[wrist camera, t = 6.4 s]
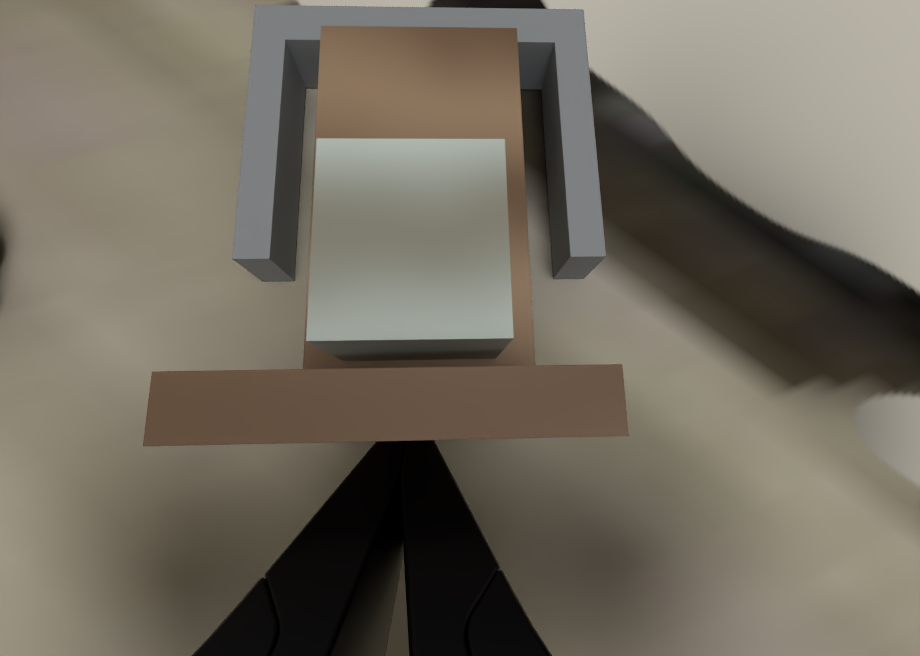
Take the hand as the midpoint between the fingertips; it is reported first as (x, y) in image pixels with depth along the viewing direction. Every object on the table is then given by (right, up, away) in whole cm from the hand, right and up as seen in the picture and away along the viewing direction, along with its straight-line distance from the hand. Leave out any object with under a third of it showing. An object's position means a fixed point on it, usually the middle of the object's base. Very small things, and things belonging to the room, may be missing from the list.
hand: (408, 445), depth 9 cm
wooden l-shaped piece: (0, +6, +9) cm, 10 cm away
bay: (0, +9, +9) cm, 13 cm away
